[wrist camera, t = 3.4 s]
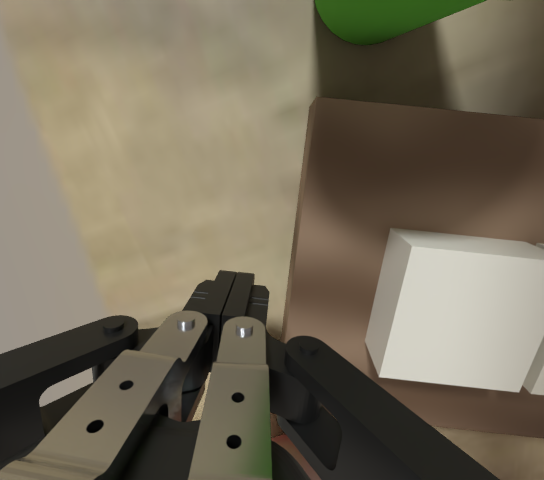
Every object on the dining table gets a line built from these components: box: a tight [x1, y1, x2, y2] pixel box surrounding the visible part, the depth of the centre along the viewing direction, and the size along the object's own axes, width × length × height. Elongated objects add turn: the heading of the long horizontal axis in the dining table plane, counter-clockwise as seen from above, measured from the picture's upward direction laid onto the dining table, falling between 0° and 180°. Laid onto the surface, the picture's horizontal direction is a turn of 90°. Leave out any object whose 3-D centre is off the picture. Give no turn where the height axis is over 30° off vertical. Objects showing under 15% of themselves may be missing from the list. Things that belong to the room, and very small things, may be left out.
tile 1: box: [365, 228, 544, 392], centre depth 13 cm, size 6×6×2 cm
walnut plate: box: [281, 97, 544, 438], centre depth 17 cm, size 16×20×4 cm
